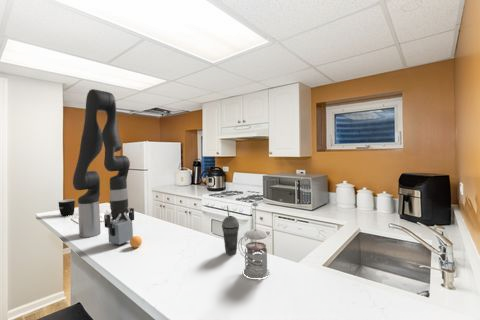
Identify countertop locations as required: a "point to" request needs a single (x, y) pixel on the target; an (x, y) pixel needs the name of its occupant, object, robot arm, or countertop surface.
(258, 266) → the french press
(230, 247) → the beverage cup
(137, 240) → the ball
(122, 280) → the countertop surface
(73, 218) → the tray
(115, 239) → the grey square block
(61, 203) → the mug
